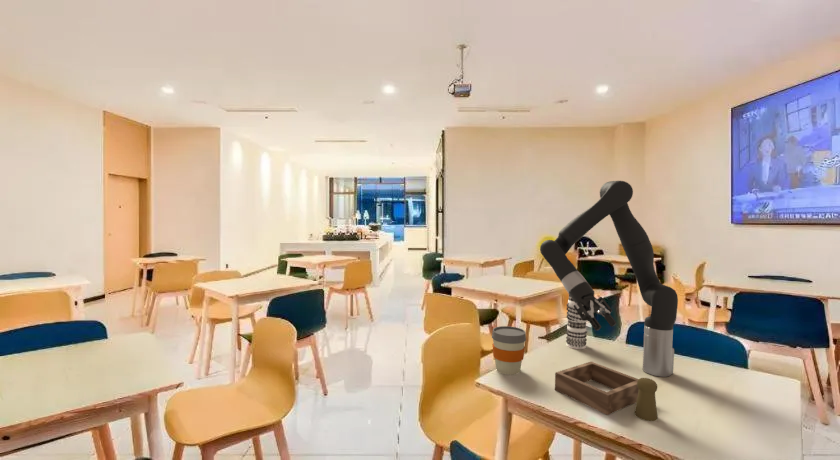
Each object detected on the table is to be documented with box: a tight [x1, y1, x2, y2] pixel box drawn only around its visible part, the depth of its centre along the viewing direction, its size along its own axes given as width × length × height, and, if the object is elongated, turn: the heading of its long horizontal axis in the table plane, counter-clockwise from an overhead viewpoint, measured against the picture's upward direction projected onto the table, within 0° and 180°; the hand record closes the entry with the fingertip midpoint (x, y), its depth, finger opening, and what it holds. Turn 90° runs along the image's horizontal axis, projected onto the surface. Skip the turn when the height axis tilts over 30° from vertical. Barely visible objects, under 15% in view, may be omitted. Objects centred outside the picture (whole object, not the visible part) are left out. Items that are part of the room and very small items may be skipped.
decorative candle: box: [565, 292, 588, 350], centre depth 179 cm, size 9×9×25 cm
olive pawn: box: [634, 377, 658, 422], centre depth 119 cm, size 6×6×11 cm
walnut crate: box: [554, 361, 640, 416], centre depth 133 cm, size 19×19×6 cm
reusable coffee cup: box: [491, 325, 527, 376], centre depth 152 cm, size 13×13×15 cm
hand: (606, 327), depth 134 cm, fingers open, 8 cm apart
